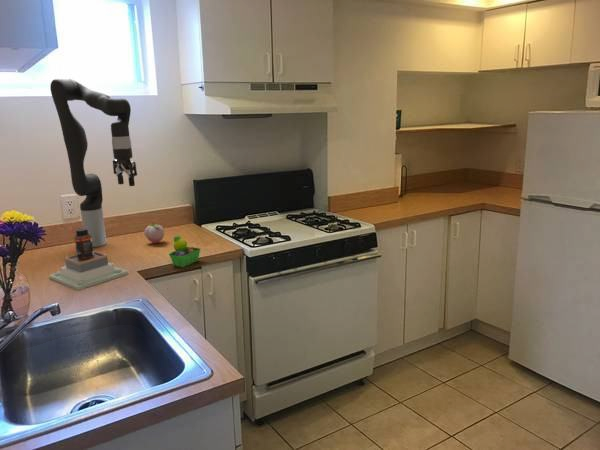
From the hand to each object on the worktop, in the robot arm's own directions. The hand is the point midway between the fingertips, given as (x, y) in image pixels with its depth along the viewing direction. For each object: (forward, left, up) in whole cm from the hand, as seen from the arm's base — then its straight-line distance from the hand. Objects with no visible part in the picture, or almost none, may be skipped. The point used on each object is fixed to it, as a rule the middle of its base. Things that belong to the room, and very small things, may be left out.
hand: (126, 185), depth 211 cm
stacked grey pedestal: (+14, -29, -30) cm, 44 cm away
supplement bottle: (+13, -29, -23) cm, 39 cm away
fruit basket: (+33, +2, -30) cm, 44 cm away
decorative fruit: (-2, +13, -30) cm, 33 cm away
